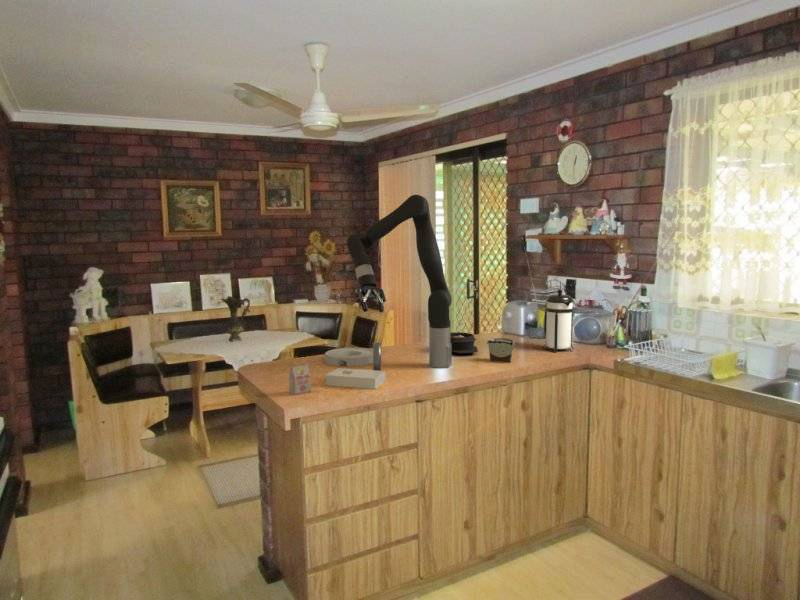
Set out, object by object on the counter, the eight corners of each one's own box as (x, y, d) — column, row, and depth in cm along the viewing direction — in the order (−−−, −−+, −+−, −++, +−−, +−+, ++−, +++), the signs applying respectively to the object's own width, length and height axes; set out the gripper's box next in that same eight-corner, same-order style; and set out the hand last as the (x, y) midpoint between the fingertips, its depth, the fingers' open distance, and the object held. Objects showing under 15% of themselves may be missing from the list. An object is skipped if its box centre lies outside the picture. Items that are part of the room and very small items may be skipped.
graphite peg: (382, 376, 232) (382, 342, 230) (379, 378, 229) (379, 344, 227) (375, 375, 233) (374, 342, 231) (372, 377, 230) (371, 343, 228)
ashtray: (385, 362, 258) (385, 353, 258) (339, 369, 246) (338, 360, 246) (360, 353, 278) (360, 345, 277) (317, 359, 266) (316, 351, 265)
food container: (517, 360, 259) (517, 338, 258) (513, 363, 254) (514, 341, 252) (490, 358, 264) (490, 336, 263) (486, 360, 259) (487, 339, 258)
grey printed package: (289, 393, 208) (288, 366, 207) (305, 390, 213) (305, 363, 211) (294, 395, 206) (293, 368, 204) (310, 392, 210) (310, 365, 209)
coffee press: (578, 348, 285) (580, 288, 281) (569, 354, 271) (570, 291, 268) (544, 345, 294) (545, 287, 290) (533, 350, 281) (535, 289, 277)
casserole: (487, 355, 271) (487, 337, 270) (451, 358, 265) (451, 340, 264) (464, 345, 295) (464, 329, 294) (431, 348, 288) (431, 331, 287)
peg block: (385, 381, 225) (385, 371, 224) (375, 388, 213) (375, 378, 213) (338, 377, 231) (338, 368, 230) (326, 385, 219) (325, 375, 219)
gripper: (357, 272, 240) (365, 307, 234) (383, 274, 249) (392, 308, 243) (347, 280, 245) (355, 314, 239) (373, 281, 254) (382, 315, 249)
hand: (374, 311), depth 241 cm, fingers open, 8 cm apart
